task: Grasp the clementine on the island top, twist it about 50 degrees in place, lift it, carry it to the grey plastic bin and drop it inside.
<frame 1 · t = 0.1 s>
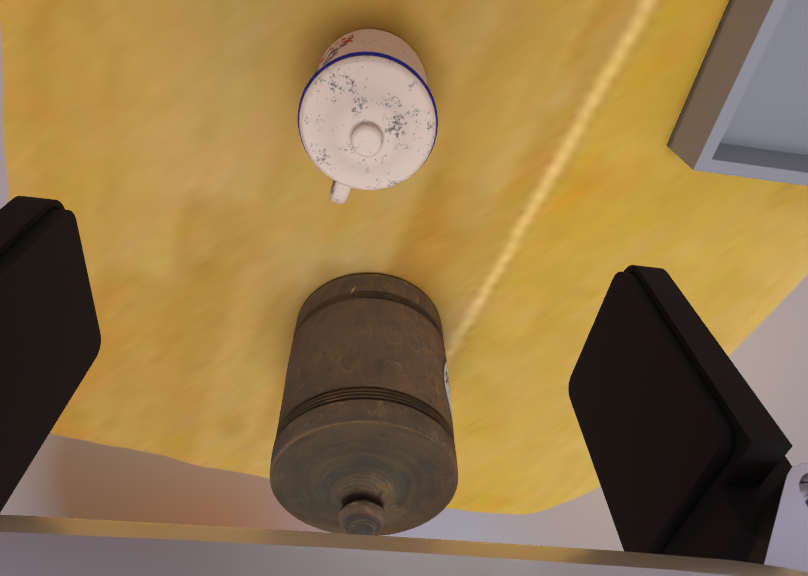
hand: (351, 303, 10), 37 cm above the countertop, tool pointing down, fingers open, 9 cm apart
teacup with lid: (365, 104, 45), on the countertop
bin: (804, 62, 44), on the countertop
wooden container: (369, 330, 58), on the countertop
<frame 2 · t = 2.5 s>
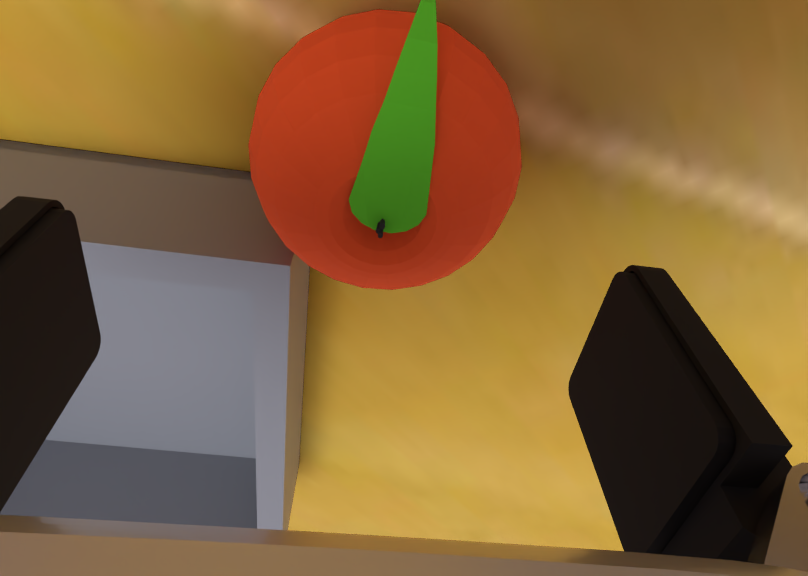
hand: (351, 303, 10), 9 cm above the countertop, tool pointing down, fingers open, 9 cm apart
clementine: (392, 91, 17), on the countertop
bin: (111, 329, 23), on the countertop
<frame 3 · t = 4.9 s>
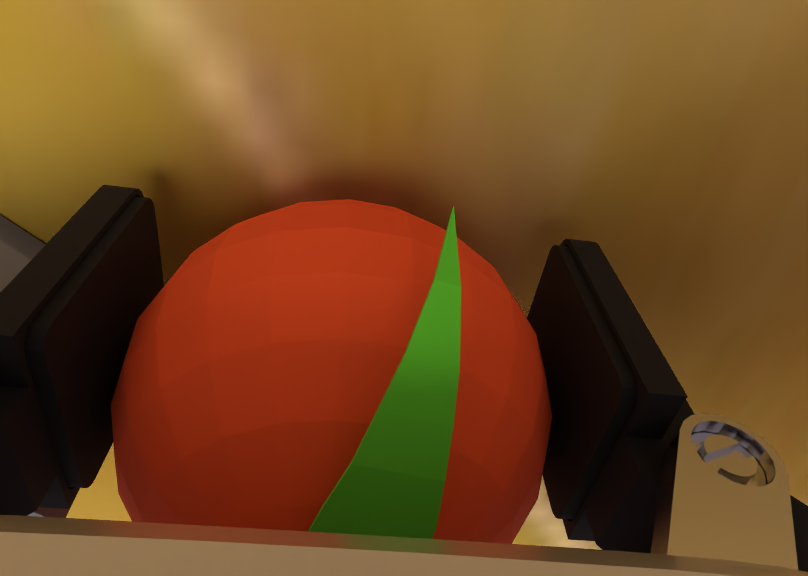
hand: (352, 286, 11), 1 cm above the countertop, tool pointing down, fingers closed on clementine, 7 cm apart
clementine: (355, 262, 12), on the countertop, touching gripper
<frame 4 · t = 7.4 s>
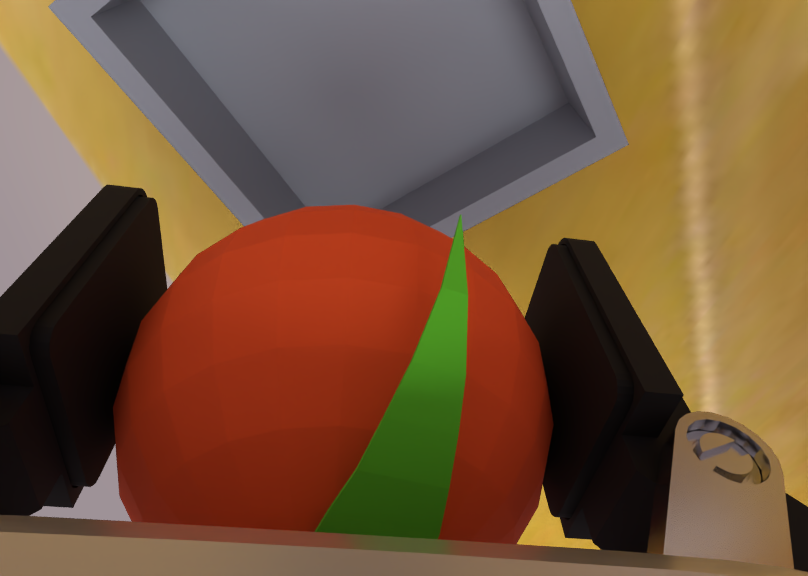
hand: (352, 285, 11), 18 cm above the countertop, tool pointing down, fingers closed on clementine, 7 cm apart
clementine: (357, 267, 12), point 17 cm above the countertop, touching gripper
bin: (365, 49, 25), on the countertop
when the fingers open (7 cm above the countertop, at t = 9.7 s): clementine drops 5 cm, resting on bin.
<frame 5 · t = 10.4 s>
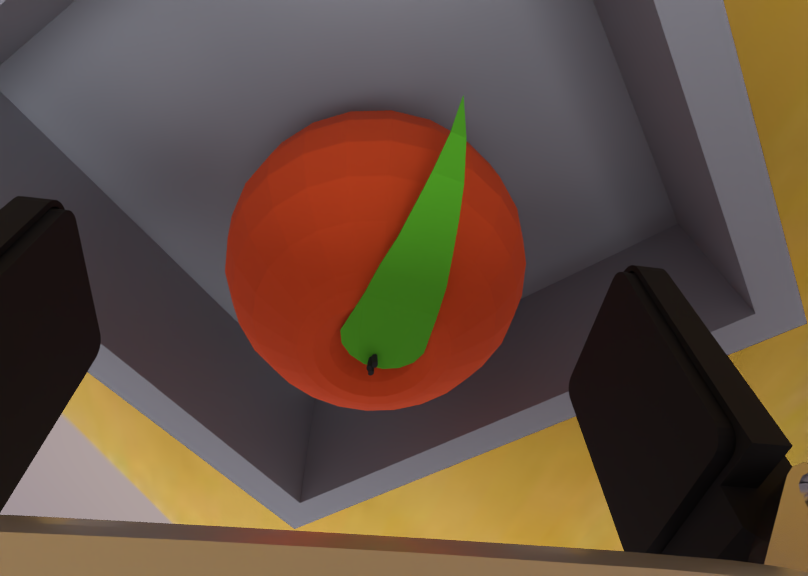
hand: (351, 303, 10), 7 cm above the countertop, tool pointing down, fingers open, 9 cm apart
clementine: (385, 177, 16), resting on bin
bin: (364, 149, 16), on the countertop
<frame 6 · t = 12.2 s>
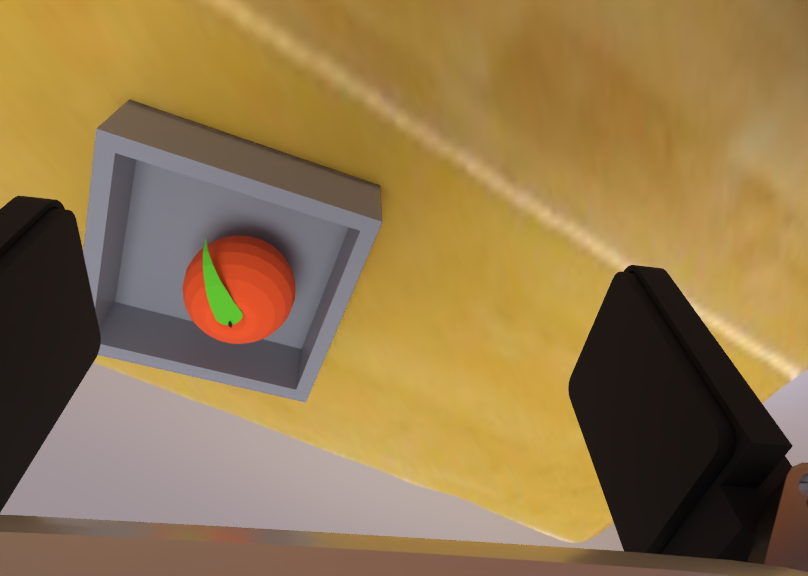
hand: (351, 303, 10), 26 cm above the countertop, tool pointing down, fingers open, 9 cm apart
clementine: (246, 253, 39), resting on bin
bin: (233, 247, 39), on the countertop
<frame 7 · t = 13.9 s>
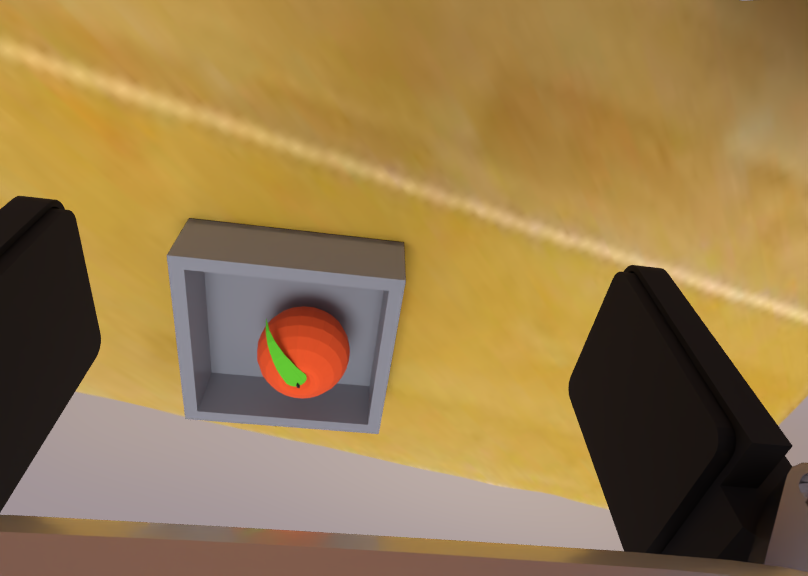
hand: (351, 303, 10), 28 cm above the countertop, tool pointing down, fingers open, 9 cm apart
clementine: (305, 317, 46), resting on bin
bin: (294, 314, 46), on the countertop
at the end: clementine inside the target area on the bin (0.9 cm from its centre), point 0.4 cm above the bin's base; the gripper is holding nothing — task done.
